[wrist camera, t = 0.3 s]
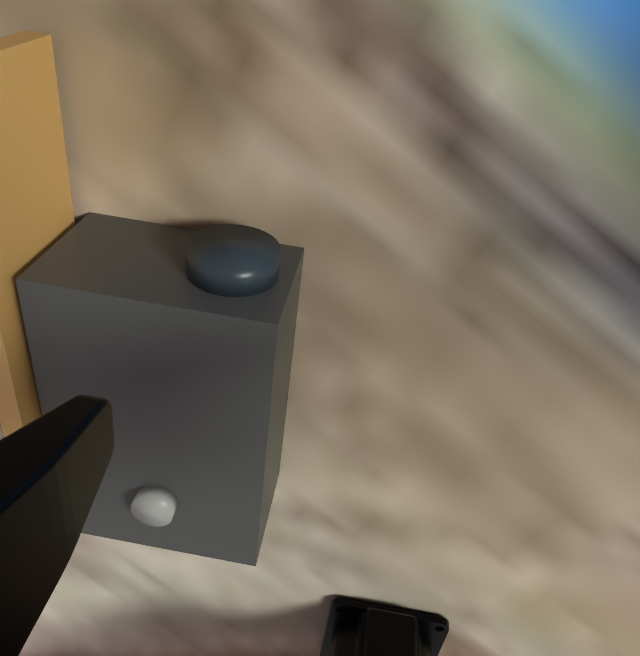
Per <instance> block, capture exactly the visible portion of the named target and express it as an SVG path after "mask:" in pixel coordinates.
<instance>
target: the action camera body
mask: <svg viewBox="0 0 640 656" xmlns="http://www.w3.org/2000/svg"><path fill="white" fill-rule="evenodd" d="M303 254H304V248H300V247H294V246H288V245H282V244H279V242H278V241H277V240H276V239H275V238H274V237H273V236H272V235H270V234H268V233H266V232H265V231H262V230H260V229H257V228H253V227H249V226H244V225H235V224H221V225H213V226H208V227H204V228H201V229H199V230H192V229H186V228H180V227H174V226H168V225H162V224H156V223H150V222H144V221H138V220H132V219H126V218H120V217H114V216H108V215H102V214H96V213H88V214H87V215H86V216H85V217H84V218H83V219H82V220H81V221H80V222H78V223H77V224H76V225H75V226H74V227H73V228H72V229H71V230H70V231H68V232H67V233H66V234H65V235H64V236H63V237H62V238H61V239H60V240H58V241H57V242H56V243H55V244H54V245H53V246H52V247H51V248H50V249H48V250H47V251H46V252H45V253H44V254H43V255H42V256H41V257H40V258H38V259H37V260H36V261H35V262H34V263H33V264H32V265H31V266H30V267H28V268H27V269H26V270H25V271H24V272H23V273H22V274H21V275H20V276H19V277H17V278H16V279H15V281H16V286H17V291H18V296H19V301H20V306H21V311H22V316H23V321H24V326H25V331H26V336H27V341H28V346H29V351H30V356H31V361H32V366H33V371H34V376H35V381H36V386H37V391H38V396H39V401H40V406H41V411H42V415H44V414H45V413H47V412H49V411H50V410H52V409H54V408H56V407H57V406H59V405H61V404H62V403H64V402H66V401H68V400H69V399H71V398H73V397H75V396H77V395H80V394H86V395H91V396H96V397H101V398H105V399H107V400H109V401H110V403H111V406H112V416H113V429H114V450H113V454H112V457H111V460H110V462H109V465H108V467H107V470H106V472H105V475H104V477H103V480H102V482H101V485H100V487H99V490H98V492H97V495H96V497H95V500H94V502H93V504H92V507H91V509H90V512H89V514H88V517H87V519H86V522H85V524H84V527H83V529H82V532H81V533H85V534H90V535H95V536H100V537H106V538H111V539H116V540H121V541H126V542H132V543H137V544H142V545H147V546H153V547H158V548H163V549H168V550H174V551H179V552H184V553H189V554H195V555H200V556H205V557H210V558H215V559H221V560H226V561H231V562H236V563H242V564H247V565H252V566H256V563H257V559H258V555H259V551H260V547H261V543H262V539H263V535H264V531H265V527H266V523H267V519H268V515H269V511H270V507H271V503H272V499H273V495H274V491H275V487H276V483H277V479H278V475H279V468H280V460H281V451H282V442H283V433H284V424H285V415H286V406H287V397H288V388H289V379H290V370H291V361H292V353H293V344H294V335H295V326H296V317H297V308H298V299H299V290H300V281H301V272H302V263H303Z"/></svg>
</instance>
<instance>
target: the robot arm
mask: <svg viewBox="0 0 640 656" xmlns="http://www.w3.org/2000/svg"><path fill="white" fill-rule="evenodd" d="M113 450H114V429H113V416H112V406H111V403H110V401H109V400H107V399H105V398H101V397H96V396H91V395H86V394H80V395H77V396H75V397H73V398H71V399H69V400H68V401H66V402H64V403H62V404H61V405H59V406H57V407H56V408H54V409H52V410H50V411H49V412H47V413H45V414H44V415H42V416H40V417H39V418H37V419H35V420H33V421H32V422H30V423H28V424H27V425H25V426H23V427H21V428H20V429H18V430H16V431H15V432H13V433H11V434H10V435H8V436H6V437H4V438H3V439H1V440H0V656H18V655H19V653H20V652H21V650H22V648H23V646H24V644H25V642H26V640H27V639H28V637H29V635H30V633H31V631H32V629H33V627H34V626H35V624H36V622H37V620H38V618H39V616H40V615H41V613H42V611H43V609H44V607H45V605H46V603H47V602H48V600H49V598H50V596H51V594H52V592H53V590H54V589H55V587H56V585H57V583H58V581H59V579H60V577H61V576H62V574H63V572H64V570H65V568H66V566H67V564H68V562H69V560H70V558H71V555H72V553H73V551H74V548H75V546H76V544H77V541H78V539H79V537H80V534H81V532H82V529H83V527H84V524H85V522H86V519H87V517H88V514H89V512H90V509H91V507H92V504H93V502H94V500H95V497H96V495H97V492H98V490H99V487H100V485H101V482H102V480H103V477H104V475H105V472H106V470H107V467H108V465H109V462H110V460H111V457H112V454H113ZM448 631H449V622H448V620H447V619H446V618H443V617H439V616H434V615H429V614H423V613H418V612H413V611H408V610H403V609H397V608H392V607H387V606H382V605H377V604H371V603H366V602H361V601H356V600H351V599H345V598H335V599H333V600H332V603H331V608H330V612H329V616H328V621H327V625H326V630H325V634H324V639H323V643H322V647H321V652H320V656H438V654H439V651H440V649H441V647H442V645H443V642H444V640H445V638H446V636H447V633H448Z"/></svg>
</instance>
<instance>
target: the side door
mask: <svg viewBox="0 0 640 656" xmlns="http://www.w3.org/2000/svg"><path fill="white" fill-rule="evenodd" d="M74 226H75V220H74V212H73V204H72V196H71V188H70V180H69V172H68V164H67V157H66V149H65V141H64V133H63V125H62V117H61V109H60V101H59V93H58V86H57V78H56V70H55V62H54V54H53V46H52V38H51V34H46V33H39V32H33V31H26V30H25V31H22V32H18V33H15V34H12V35H8V36H5V37H1V38H0V423H1V427H2V431H3V435H4V437H6V436H8V435H10V434H11V433H13V432H15V431H16V430H18V429H20V428H21V427H23V426H25V425H27V424H28V423H30V422H32V421H33V420H35V419H37V418H39V417H40V416H42V411H41V406H40V401H39V396H38V391H37V386H36V381H35V376H34V371H33V366H32V361H31V356H30V351H29V346H28V341H27V336H26V331H25V326H24V321H23V316H22V311H21V306H20V301H19V296H18V291H17V286H16V281H15V279H16V278H17V277H19V276H20V275H21V274H22V273H23V272H24V271H25V270H26V269H27V268H28V267H30V266H31V265H32V264H33V263H34V262H35V261H36V260H37V259H38V258H40V257H41V256H42V255H43V254H44V253H45V252H46V251H47V250H48V249H50V248H51V247H52V246H53V245H54V244H55V243H56V242H57V241H58V240H60V239H61V238H62V237H63V236H64V235H65V234H66V233H67V232H68V231H70V230H71V229H72V228H73V227H74Z"/></svg>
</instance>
